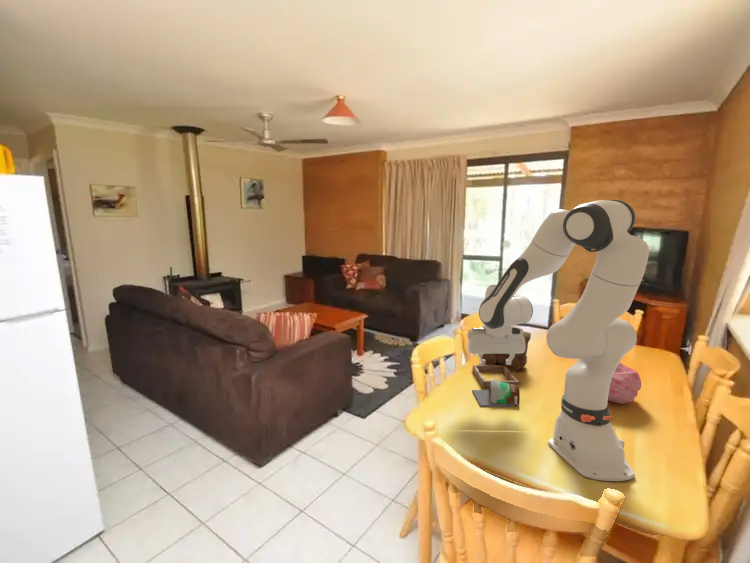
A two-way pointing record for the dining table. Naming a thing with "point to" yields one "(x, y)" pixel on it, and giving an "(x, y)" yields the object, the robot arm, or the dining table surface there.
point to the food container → (504, 392)
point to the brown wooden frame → (493, 369)
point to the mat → (487, 399)
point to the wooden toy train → (517, 361)
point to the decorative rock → (624, 385)
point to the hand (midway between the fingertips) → (495, 364)
